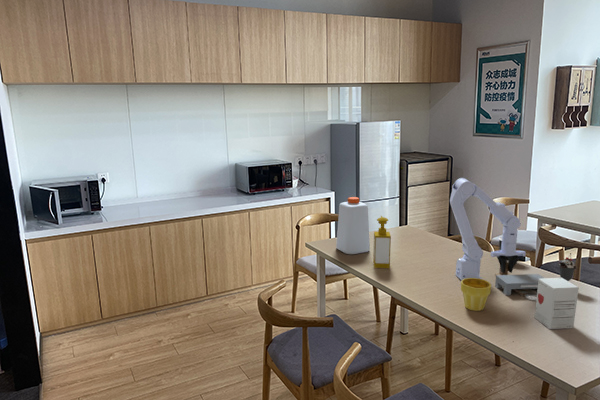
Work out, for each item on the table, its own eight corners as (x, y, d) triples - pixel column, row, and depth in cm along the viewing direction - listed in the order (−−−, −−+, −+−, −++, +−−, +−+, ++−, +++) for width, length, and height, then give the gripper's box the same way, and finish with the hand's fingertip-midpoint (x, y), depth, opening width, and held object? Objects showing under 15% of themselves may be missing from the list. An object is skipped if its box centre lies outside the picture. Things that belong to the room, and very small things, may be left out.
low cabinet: (506, 296, 179) (507, 284, 178) (495, 286, 188) (496, 275, 187) (550, 294, 180) (551, 282, 179) (537, 285, 189) (538, 274, 188)
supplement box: (533, 317, 161) (537, 277, 158) (557, 316, 161) (561, 276, 158) (549, 329, 152) (554, 288, 149) (574, 328, 153) (579, 287, 150)
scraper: (521, 295, 179) (523, 279, 178) (495, 275, 201) (496, 260, 199) (536, 295, 179) (537, 279, 178) (508, 274, 201) (509, 260, 200)
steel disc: (528, 301, 174) (529, 298, 174) (522, 295, 179) (522, 293, 179) (541, 301, 174) (541, 298, 174) (534, 295, 179) (535, 292, 179)
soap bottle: (387, 259, 223) (388, 212, 218) (389, 268, 211) (391, 219, 206) (372, 258, 224) (373, 212, 219) (374, 267, 211) (375, 219, 206)
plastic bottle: (333, 247, 242) (333, 196, 236) (357, 244, 248) (358, 194, 242) (347, 256, 228) (348, 202, 223) (372, 251, 234) (374, 199, 229)
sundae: (571, 286, 187) (576, 252, 184) (575, 293, 181) (580, 257, 178) (553, 284, 189) (557, 250, 186) (557, 291, 183) (561, 255, 180)
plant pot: (471, 315, 163) (473, 289, 161) (453, 303, 173) (455, 279, 171) (495, 311, 166) (497, 286, 164) (477, 299, 176) (478, 276, 174)
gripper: (520, 238, 198) (517, 268, 201) (488, 239, 197) (485, 269, 200) (529, 243, 191) (526, 273, 194) (496, 244, 190) (493, 274, 193)
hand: (506, 271), depth 196 cm, fingers closed on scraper, 2 cm apart
